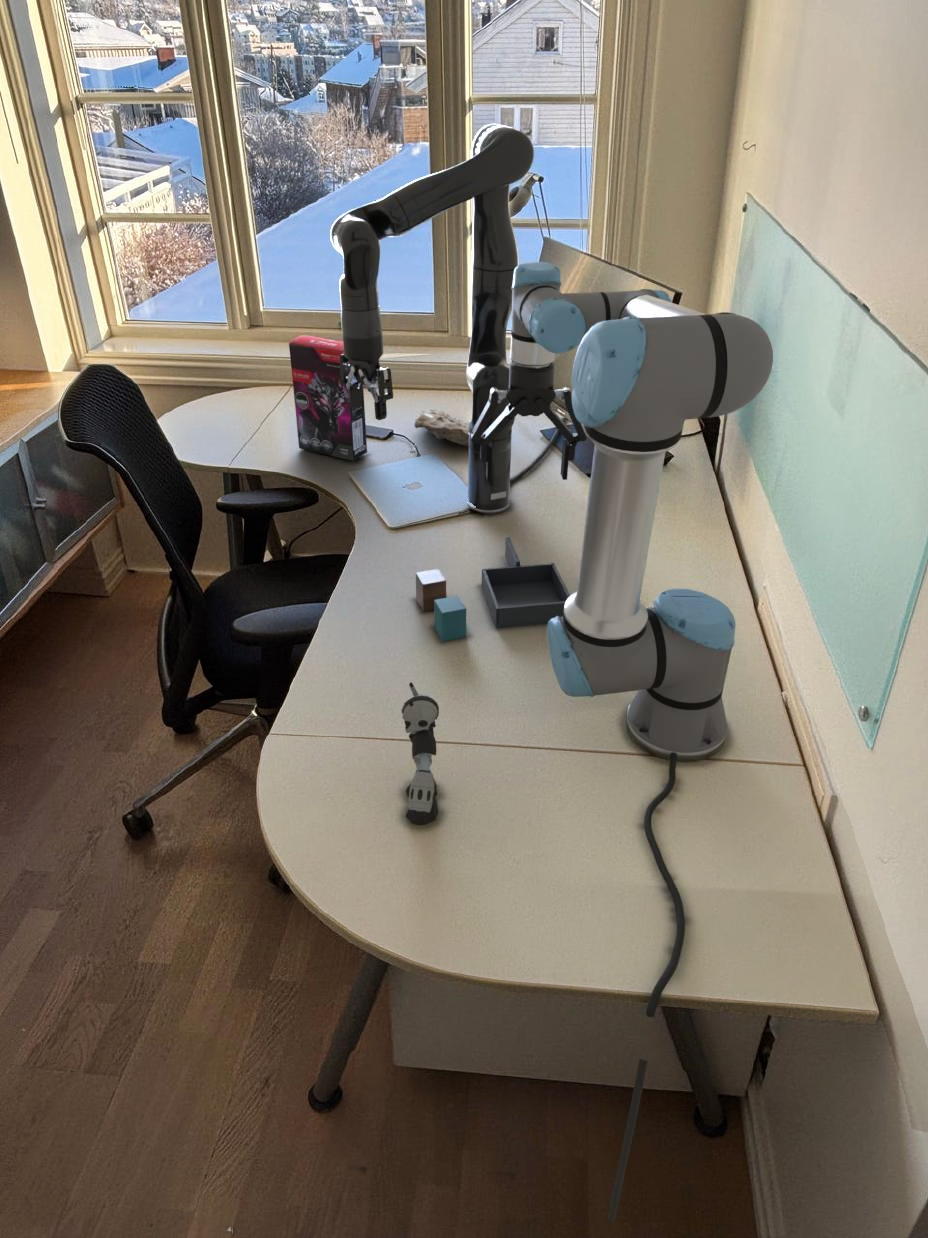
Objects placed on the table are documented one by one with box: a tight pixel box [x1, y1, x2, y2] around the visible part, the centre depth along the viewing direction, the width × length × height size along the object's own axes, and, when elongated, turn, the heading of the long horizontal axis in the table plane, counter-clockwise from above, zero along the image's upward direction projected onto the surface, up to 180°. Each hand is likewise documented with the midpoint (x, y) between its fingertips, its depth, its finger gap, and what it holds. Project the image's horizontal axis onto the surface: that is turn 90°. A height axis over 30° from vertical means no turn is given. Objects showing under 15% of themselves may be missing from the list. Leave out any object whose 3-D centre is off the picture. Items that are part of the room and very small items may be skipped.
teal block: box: [433, 595, 467, 642], centre depth 163 cm, size 4×4×6 cm
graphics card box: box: [288, 334, 368, 462], centre depth 223 cm, size 17×7×27 cm, turn 62°
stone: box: [413, 409, 469, 447], centre depth 236 cm, size 21×15×6 cm
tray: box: [481, 536, 571, 629], centre depth 176 cm, size 24×14×5 cm, turn 10°
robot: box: [401, 681, 440, 826], centre depth 124 cm, size 20×5×20 cm, turn 3°
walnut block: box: [415, 568, 447, 613], centre depth 171 cm, size 4×4×6 cm
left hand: (368, 412), depth 182 cm, fingers open, 8 cm apart
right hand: (526, 477), depth 166 cm, fingers open, 13 cm apart
